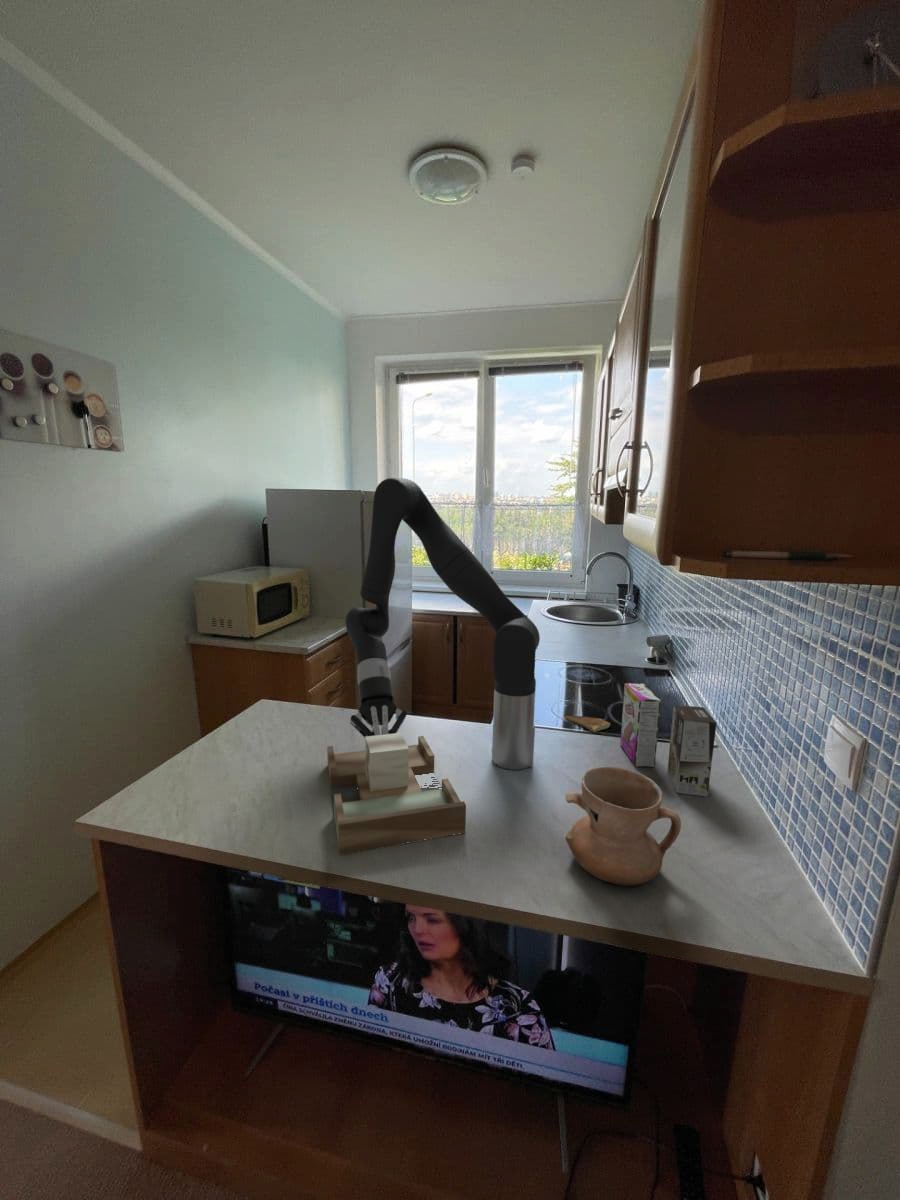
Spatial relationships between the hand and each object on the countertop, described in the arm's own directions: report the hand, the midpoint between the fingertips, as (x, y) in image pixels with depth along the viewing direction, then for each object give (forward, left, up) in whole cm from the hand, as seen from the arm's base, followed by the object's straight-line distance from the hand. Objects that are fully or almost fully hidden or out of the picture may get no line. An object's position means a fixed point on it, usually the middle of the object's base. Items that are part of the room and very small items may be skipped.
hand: (383, 756), depth 106 cm
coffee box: (-65, -4, -6) cm, 65 cm away
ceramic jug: (-43, +23, -6) cm, 49 cm away
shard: (-50, -33, -6) cm, 60 cm away
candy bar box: (-58, -16, -6) cm, 60 cm away
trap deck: (-2, +5, -5) cm, 8 cm away
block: (-1, +4, -3) cm, 5 cm away
